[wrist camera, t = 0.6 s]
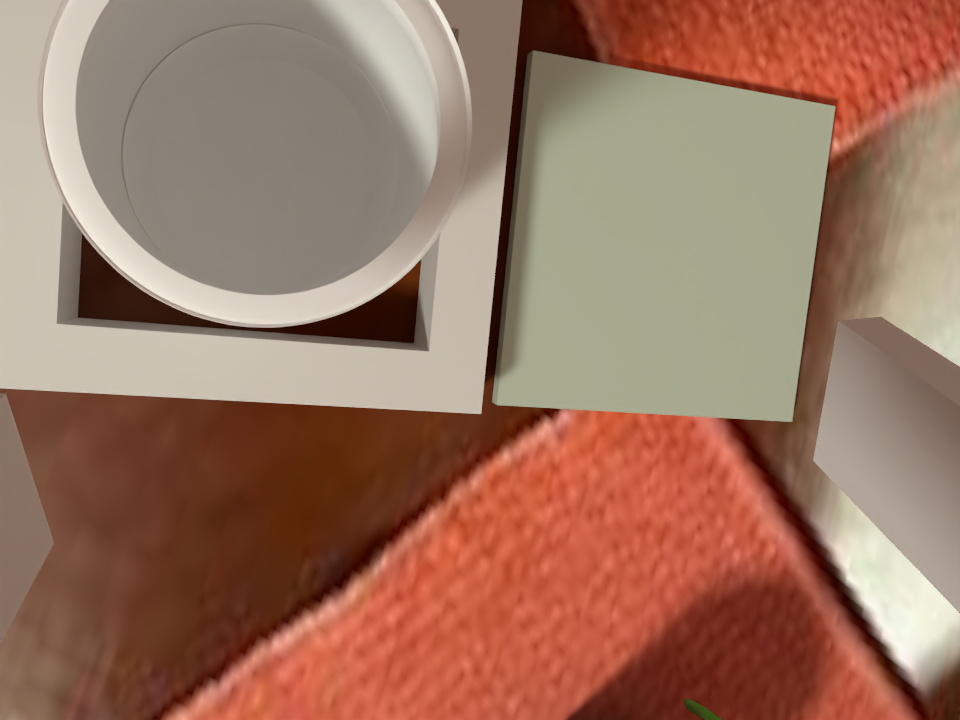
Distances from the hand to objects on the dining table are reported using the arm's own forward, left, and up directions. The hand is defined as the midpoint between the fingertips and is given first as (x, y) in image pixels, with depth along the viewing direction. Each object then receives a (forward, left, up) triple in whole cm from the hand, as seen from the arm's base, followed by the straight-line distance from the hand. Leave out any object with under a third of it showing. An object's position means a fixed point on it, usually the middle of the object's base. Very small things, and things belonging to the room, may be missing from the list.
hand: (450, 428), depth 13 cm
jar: (-6, -3, -24) cm, 25 cm away
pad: (-5, +16, -23) cm, 29 cm away
